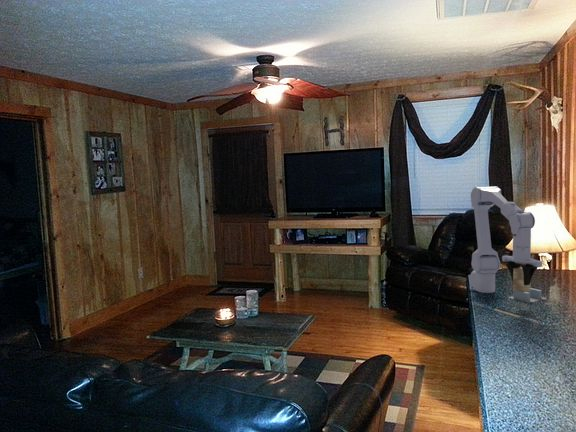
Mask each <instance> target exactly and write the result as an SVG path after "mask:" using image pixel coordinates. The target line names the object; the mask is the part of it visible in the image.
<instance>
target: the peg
mask: <svg viewBox="0 0 576 432" xmlns="http://www.w3.org/2000/svg"><path fill="white" fill-rule="evenodd" d="M531 285H532V284H531V282H530V285H524V274H523V269H522V266H520V267H519V268H513V281H512V291H513V290H515V291H519V292H528V291H530V288H531V287H532V286H531Z"/></svg>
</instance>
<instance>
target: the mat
mask: <svg viewBox="0 0 576 432" xmlns="http://www.w3.org/2000/svg"><path fill="white" fill-rule="evenodd" d="M493 311H494V312H497V313H501V314H503V315H508V316H511V317H515V318H517V319H519V318H523V317H526V315H524V314H519V313H515V312H512V311H509V310H506V309H501V308H494V309H493Z"/></svg>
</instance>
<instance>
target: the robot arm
mask: <svg viewBox="0 0 576 432" xmlns="http://www.w3.org/2000/svg"><path fill="white" fill-rule="evenodd" d="M470 202H471V208H473V213H474V221H475V231H476V241H477V249H476V250H475V251H474V252H472V254H471V264H470V265H471V269H472V271H471V272H470V276H469V291H472V290H473V291H475V292H479V293H485V294H486V293H487V294H492V293H495V292H496V273H497V272H498V271H499V269H500V268H501V262H507V263H505V264H506V265H505V266H506V268H507V270H508V271H509V273H510V276H511V280H512V282H513V268H519V267H522V269H523V274H524V285H530V282H531V280H532V278H533V276H534V274H535V273H536V271H537V269H538V268H542V267H543V261H542V260H537V259H534V258H531V256H532V255H531V254H532V253H531V251H532V250H531V245H532V242H531V241H532V229H533V228H534V226H535V224H536V219H535V216H534V214H533V213H532V212H530V211H528V212H527V211H524V210H523V209H522V208H520V207H519V206H518V205H517V203H516V202H515V201H508V200H507V199H506V198H505V197H504V196H503V195H502V189H501V188H499V186H474V187H473V188H472V190H471V192H470ZM494 205H495V206H496V207H498V208H499V209H500V214H501V215H502V216H504V217H505V218H506V220H508V221H509V226H510V232H511V234H512V255H507V254H506V255H502V256H501V260H500V258H499V253H498V252H497V251H496V250H494V248H492V240H491V230H490V223H489V222H490V219H489V209H490V208H492V207H494Z"/></svg>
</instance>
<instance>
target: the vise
mask: <svg viewBox="0 0 576 432" xmlns="http://www.w3.org/2000/svg"><path fill="white" fill-rule="evenodd" d="M512 291H513V295H512V296H507V298H509V299H511V300H514V301H515V300H517V301H519V302H524V303H527V304H530V303H535V302H538V301H543V300H546V299H548V298H547V297H543V296H542V294H543V293H542V290H541V289H537V288H532V287H530V291H528V292H519V291H515V290H513V289H512Z"/></svg>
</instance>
